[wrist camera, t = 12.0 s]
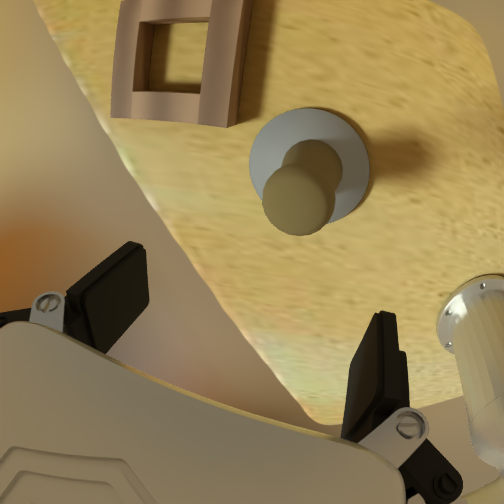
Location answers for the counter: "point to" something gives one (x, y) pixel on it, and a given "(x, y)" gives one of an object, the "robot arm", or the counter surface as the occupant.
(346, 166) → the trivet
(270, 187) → the cork
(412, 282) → the counter surface
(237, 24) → the frame
